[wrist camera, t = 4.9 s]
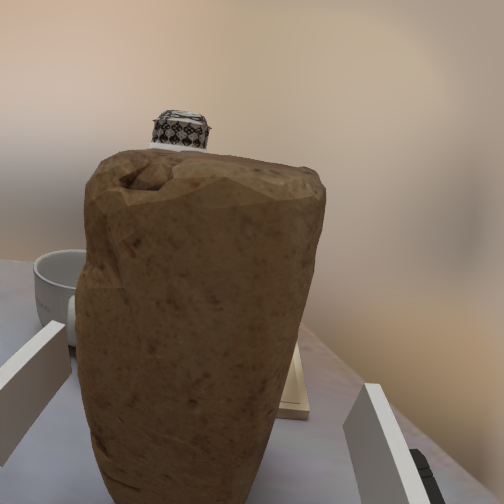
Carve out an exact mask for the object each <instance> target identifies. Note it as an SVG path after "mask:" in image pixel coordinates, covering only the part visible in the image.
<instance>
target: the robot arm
mask: <svg viewBox="0 0 504 504" xmlns="http://www.w3.org/2000/svg"><path fill="white" fill-rule="evenodd" d="M71 373H72V368H71V362H70V356H69V349H68V341H67V333H66V325H65V324H62V323H59V322H56V321H53V320H52V321H51V322H50V323H49V324H47V325H46V326H45V327H44V328H43V329H42V330H41V331H39V332H38V333H37V334H36V335H35V336H34V337H33V338H32V339H31V340H29V341H28V342H27V343H26V344H25V345H24V346H23V347H22V348H21V349H20V350H19V351H17V352H16V353H15V354H14V355H13V356H12V357H11V358H10V359H9V360H8V361H7V362H6V363H5V364H4V365H3V366H2V367H0V466H2V467H3V465H4V464H5V462H6V461H7V459H8V458H9V457H10V455H11V454H12V452H13V451H14V449H15V448H16V446H17V445H18V444H19V442H20V441H21V439H22V438H23V437H24V435H25V434H26V432H27V431H28V430H29V428H30V427H31V426H32V424H33V423H34V421H35V420H36V419H37V417H38V416H39V415H40V413H41V412H42V411H43V409H44V408H45V407H46V405H47V404H48V403H49V401H50V400H51V399H52V398H53V396H54V395H55V394H56V392H57V391H58V390H59V389H60V387H61V386H62V385H63V383H64V382H65V381H66V380H67V378H68V377H69V376H70V375H71ZM343 429H344V433H345V437H346V440H347V444H348V448H349V452H350V456H351V460H352V464H353V468H354V472H355V476H356V481H357V485H358V489H359V493H360V497H361V502H362V504H445V502H444V499H443V497H442V494H441V492H440V490H439V487H438V485H437V483H436V480H435V478H434V477H433V473H432V471H431V469H429V468H430V467H429V464H428V462H427V460H426V458H425V456H424V455H423V454H422V453H421V452H420V451H419V450H418V449H408V447H407V444H406V442H405V440H404V437H403V435H402V433H401V430H400V428H399V426H398V424H397V421H396V419H395V417H394V415H393V412H392V410H391V408H390V406H389V404H388V401H387V399H386V397H385V395H384V393H383V391H382V388H381V386H380V384H367V383H364V385H363V387H362V389H361V391H360V393H359V395H358V397H357V399H356V401H355V403H354V405H353V407H352V409H351V411H350V413H349V415H348V417H347V419H346V421H345V423H344V424H343Z"/></svg>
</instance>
